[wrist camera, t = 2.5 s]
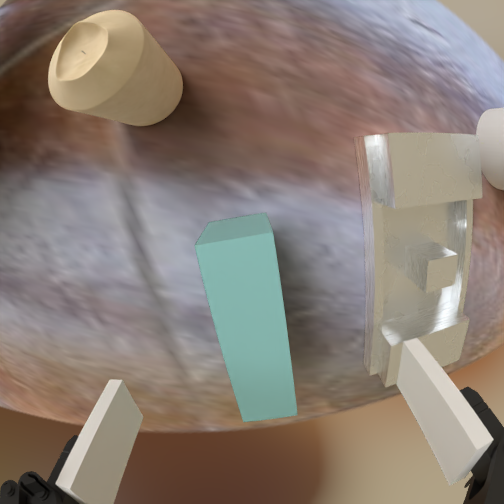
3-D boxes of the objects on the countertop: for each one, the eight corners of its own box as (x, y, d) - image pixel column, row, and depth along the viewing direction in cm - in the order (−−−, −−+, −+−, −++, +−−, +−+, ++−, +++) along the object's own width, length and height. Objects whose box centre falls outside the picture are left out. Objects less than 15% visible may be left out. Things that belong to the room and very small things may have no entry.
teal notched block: (214, 213, 20) (194, 245, 13) (263, 205, 20) (273, 232, 13) (244, 351, 24) (243, 422, 16) (284, 345, 24) (297, 415, 16)
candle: (112, 69, 17) (35, 27, 7) (181, 50, 16) (134, -19, 7) (117, 134, 18) (30, 125, 9) (187, 118, 18) (135, 82, 9)
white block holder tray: (353, 137, 19) (376, 133, 15) (454, 136, 18) (484, 135, 14) (363, 362, 25) (376, 389, 21) (445, 336, 24) (464, 357, 20)
